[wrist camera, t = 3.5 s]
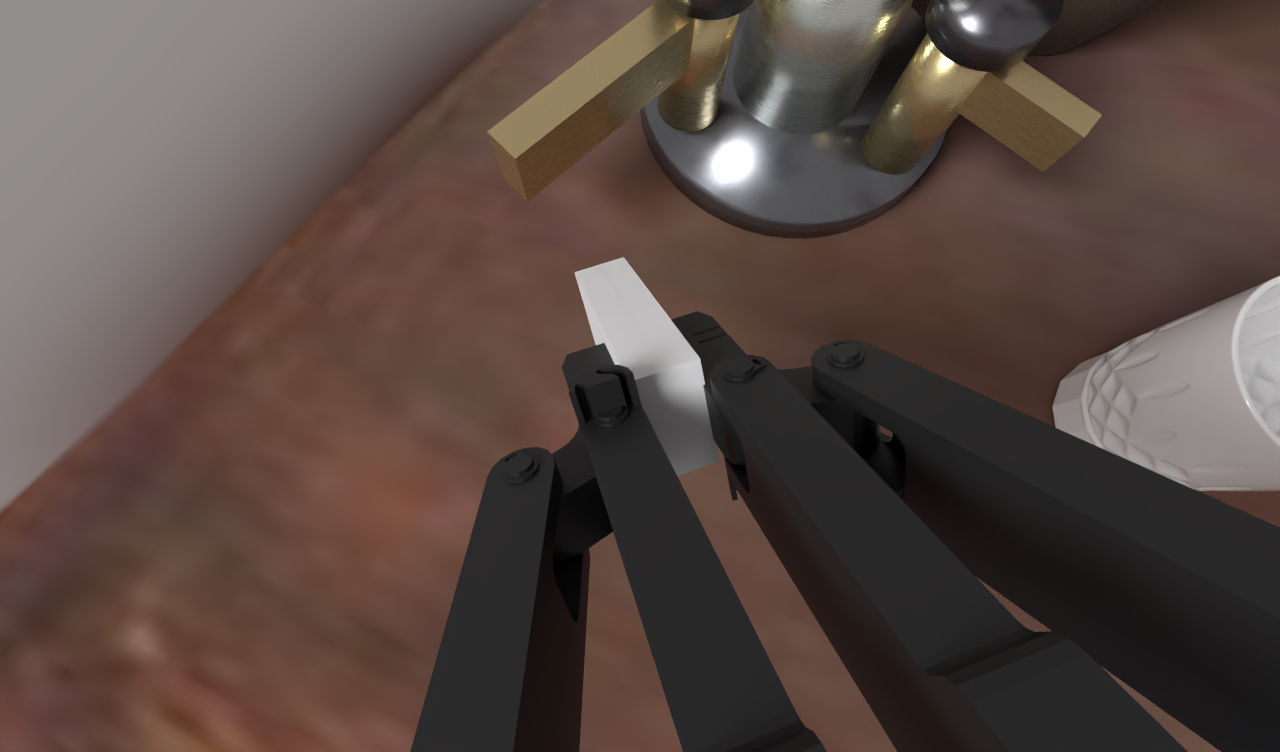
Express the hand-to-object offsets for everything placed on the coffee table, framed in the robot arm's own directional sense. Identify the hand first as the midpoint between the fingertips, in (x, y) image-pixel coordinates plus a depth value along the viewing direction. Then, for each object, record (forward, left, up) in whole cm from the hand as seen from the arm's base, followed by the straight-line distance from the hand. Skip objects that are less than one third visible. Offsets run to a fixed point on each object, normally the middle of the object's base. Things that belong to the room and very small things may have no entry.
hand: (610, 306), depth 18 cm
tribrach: (-6, -19, -13) cm, 23 cm away
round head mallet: (+2, -12, -10) cm, 16 cm away
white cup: (-25, -5, -13) cm, 29 cm away
